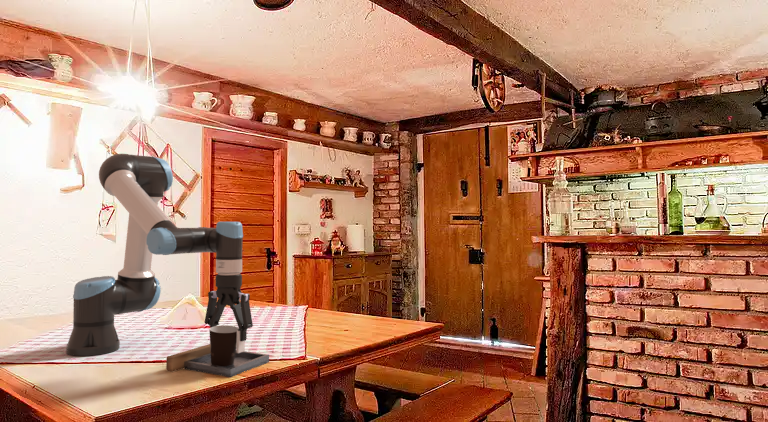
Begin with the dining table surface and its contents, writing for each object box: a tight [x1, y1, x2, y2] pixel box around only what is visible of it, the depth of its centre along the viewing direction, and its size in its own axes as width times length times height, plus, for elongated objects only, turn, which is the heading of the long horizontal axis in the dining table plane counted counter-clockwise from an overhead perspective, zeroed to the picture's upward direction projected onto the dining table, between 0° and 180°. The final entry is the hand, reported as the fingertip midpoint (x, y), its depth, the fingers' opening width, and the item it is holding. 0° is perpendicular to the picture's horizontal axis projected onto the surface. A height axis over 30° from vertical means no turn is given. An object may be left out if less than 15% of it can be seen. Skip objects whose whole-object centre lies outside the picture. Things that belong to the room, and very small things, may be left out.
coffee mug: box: [208, 324, 239, 366], centre depth 155 cm, size 12×9×10 cm
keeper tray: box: [183, 350, 270, 378], centre depth 155 cm, size 17×17×2 cm
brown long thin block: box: [165, 343, 211, 373], centre depth 158 cm, size 2×20×4 cm, turn 155°
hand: (227, 350), depth 155 cm, fingers open, 9 cm apart
